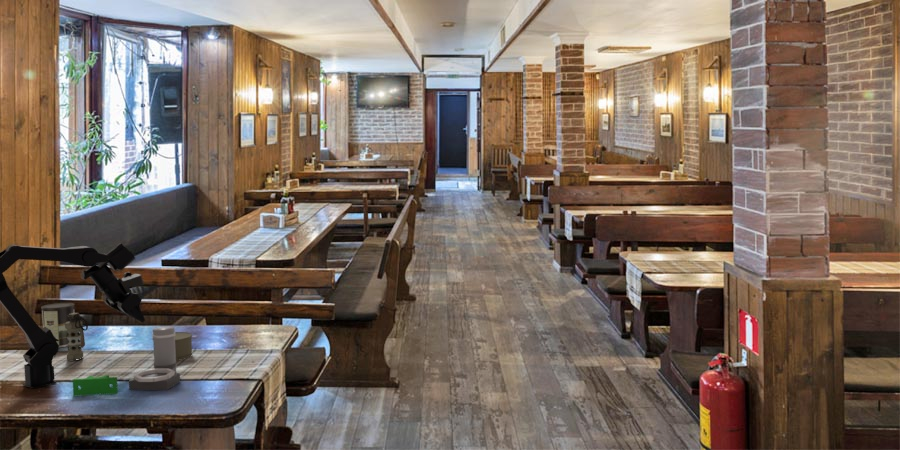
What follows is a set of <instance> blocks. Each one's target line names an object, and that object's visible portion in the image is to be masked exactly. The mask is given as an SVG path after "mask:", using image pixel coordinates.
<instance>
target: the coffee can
mask: <svg viewBox="0 0 900 450" xmlns="http://www.w3.org/2000/svg"><path fill="white" fill-rule="evenodd" d="M40 309H41V319H42V329H43V328H44V327H47V328H48V329H50V330H51V332H52V334H53V336H54V337H55V338H56V339H58V340H59V341H56V342H57V343H58V345H59V349H60V348H66V347H67V348H68V340H67V329H66V328H65V323H66V322H69V321H70V317H68V315H69V314H71V313H76V312H75V303H73V302H57V303H49V304H45V305H42V306H41V307H40ZM68 335H69V334H68Z"/></svg>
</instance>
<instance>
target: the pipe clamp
mask: <svg viewBox="0 0 900 450" xmlns="http://www.w3.org/2000/svg"><path fill="white" fill-rule="evenodd" d="M110 385H111V386H112V387H111V386H110ZM79 387H80V388H79ZM118 389H119V388H118V377H117V376H113V377H112V376H111V377H110V374H106V375H103V376H102V375H101V376H92V375H87V377H86V378H73V379H72V394H73V395H72V396H76V397H77V396H78V397H79V396H96V395H97V396H98V395H99V396H100V395H117V394H118V393H119V390H118Z"/></svg>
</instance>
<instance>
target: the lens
mask: <svg viewBox="0 0 900 450" xmlns="http://www.w3.org/2000/svg"><path fill="white" fill-rule="evenodd" d="M175 332H176V331H175V327H174V326H160V327H155V328H153V329H152V342H153V343H152V344H153V362H154V363H153V369H156V368H169V369H171V370H173V371H175V373H177V360H176V352H175Z"/></svg>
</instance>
